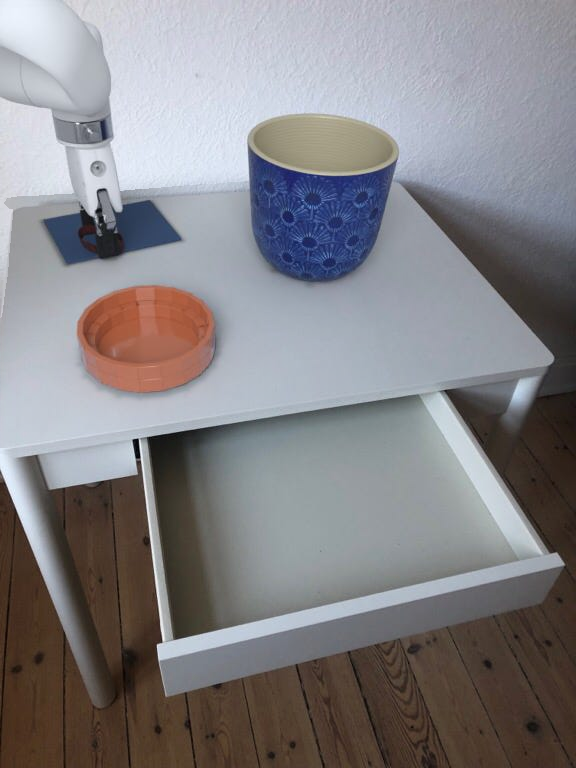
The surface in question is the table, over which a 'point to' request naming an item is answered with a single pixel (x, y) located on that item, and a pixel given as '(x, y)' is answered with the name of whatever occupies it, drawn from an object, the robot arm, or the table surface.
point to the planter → (318, 192)
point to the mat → (133, 224)
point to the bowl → (146, 338)
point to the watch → (91, 229)
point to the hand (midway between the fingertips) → (101, 243)
